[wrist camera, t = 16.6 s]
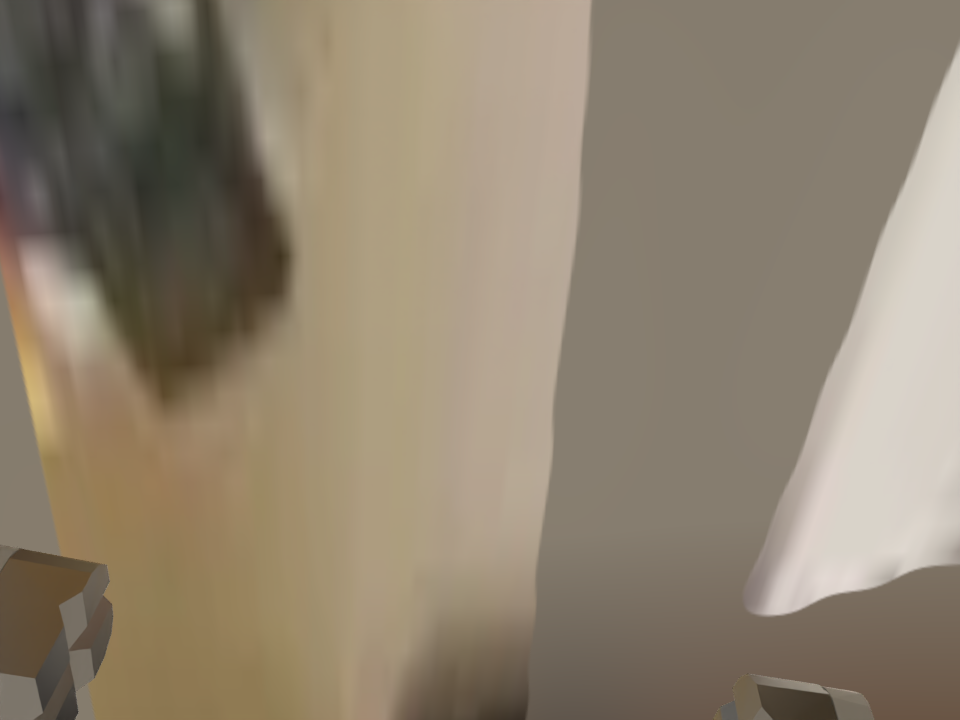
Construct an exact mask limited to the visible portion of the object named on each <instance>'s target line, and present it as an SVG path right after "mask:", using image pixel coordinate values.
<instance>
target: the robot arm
mask: <svg viewBox="0 0 960 720" xmlns="http://www.w3.org/2000/svg"><path fill="white" fill-rule="evenodd" d="M109 582H110V581H109V575H108V569H107V565H105V564H100V563H95V562H89V561H84V560H79V559H73V558H68V557H63V556H57V555H52V554H46V553H41V552H36V551H30V550H24V549H22V548H16V547H10V546H5V545H0V720H75V719H76V716H77V714H78V705H77V699H76V691H77V690H79V689H80V688H82V687H83V686H85V685H86V684H87V683H89V682H90V681H92V680H93V679H94V678H95V676H96V674H97V672H98V670H99V667H100V665H101V663H102V661H103V659H104V656H105V653H106V650H107V646H108V643H109V639H110V636H111V632H112V623H113V609H112V604H111V603H110V602H109V601H108V600H107V599H106V598H105V597H104V596H103V594H104V592H105V590H106V588H107V586H108V584H109ZM733 693H734V699H735V701H732V702H730V703H728V704H726V705H723V706H721V707H720V708H719V710H718V711H717V713H716V715H715V717H714V718H713V720H874V717H873V715H872V711H871V708H870V706H869V703H868V701H867V700H866V699H865V697H864V696H863V695H862V694H860V693H857V692H854V691H848V690H842V689H835V688H828V687H821V686H819V685H817V684H811V683H805V682H798V681H792V680H785V679H779V678H772V677H766V676H759V675H753V674H746V675H744V676H741V677H740V678H739V679H738V681H737V682H736V684H735V685H734V686H733Z"/></svg>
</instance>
